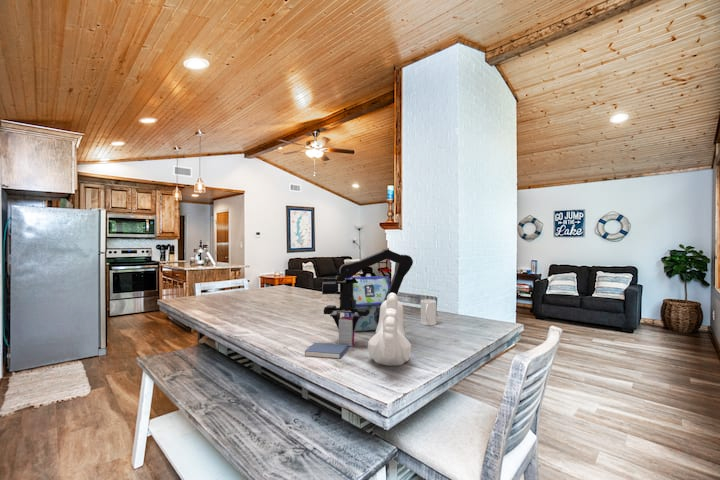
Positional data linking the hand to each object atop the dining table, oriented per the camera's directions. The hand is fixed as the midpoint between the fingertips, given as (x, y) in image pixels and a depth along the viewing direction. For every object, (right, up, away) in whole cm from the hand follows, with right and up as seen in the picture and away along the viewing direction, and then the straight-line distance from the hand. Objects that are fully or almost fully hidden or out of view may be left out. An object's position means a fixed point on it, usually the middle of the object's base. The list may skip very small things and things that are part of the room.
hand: (346, 331), depth 145 cm
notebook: (-7, -6, -10) cm, 14 cm away
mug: (+41, -6, +37) cm, 56 cm away
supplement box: (0, -6, 0) cm, 6 cm away
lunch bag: (+9, -6, +28) cm, 30 cm away
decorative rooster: (+15, -6, -23) cm, 28 cm away
